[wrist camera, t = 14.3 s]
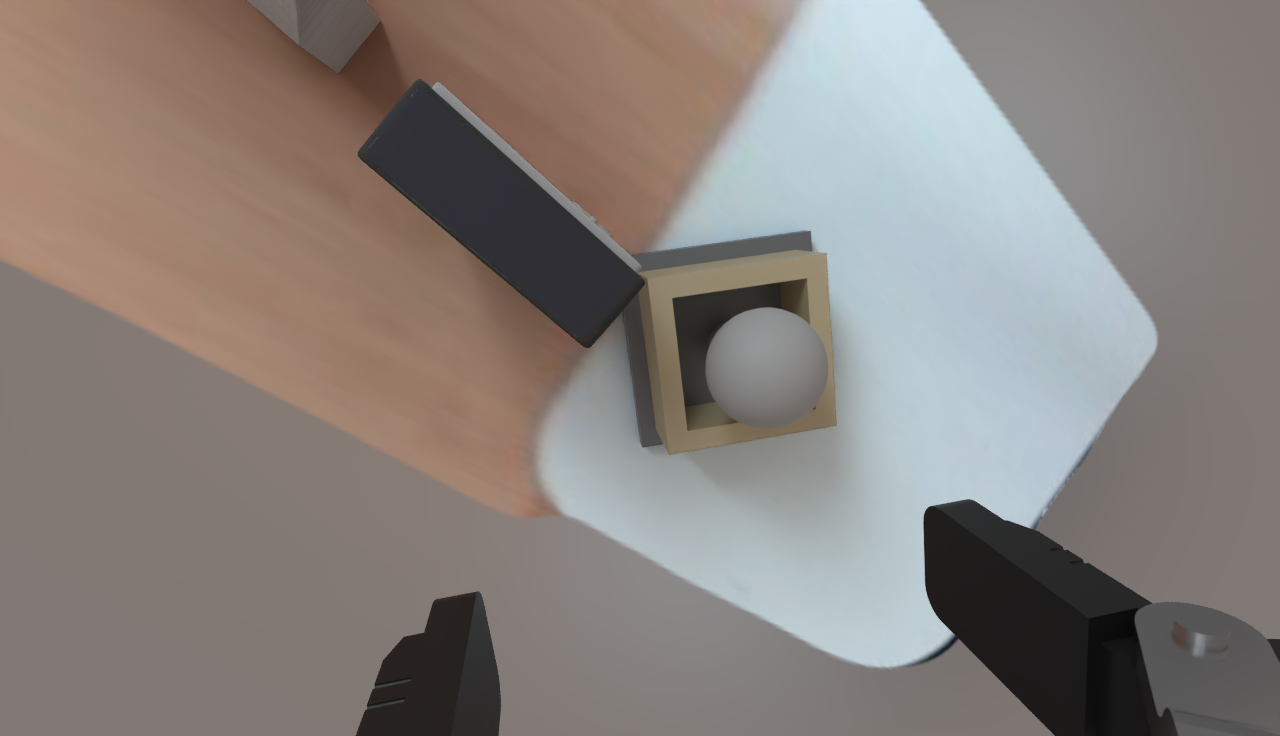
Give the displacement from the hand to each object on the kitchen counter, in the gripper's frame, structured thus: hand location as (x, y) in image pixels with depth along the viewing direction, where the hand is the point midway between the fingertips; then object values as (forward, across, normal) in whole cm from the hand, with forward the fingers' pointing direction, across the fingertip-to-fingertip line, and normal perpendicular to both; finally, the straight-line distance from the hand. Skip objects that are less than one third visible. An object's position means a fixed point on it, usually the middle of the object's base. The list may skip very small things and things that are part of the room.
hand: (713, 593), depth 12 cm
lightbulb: (+29, -8, +2) cm, 30 cm away
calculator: (+30, +3, -7) cm, 31 cm away
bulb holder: (+30, -8, +2) cm, 31 cm away
